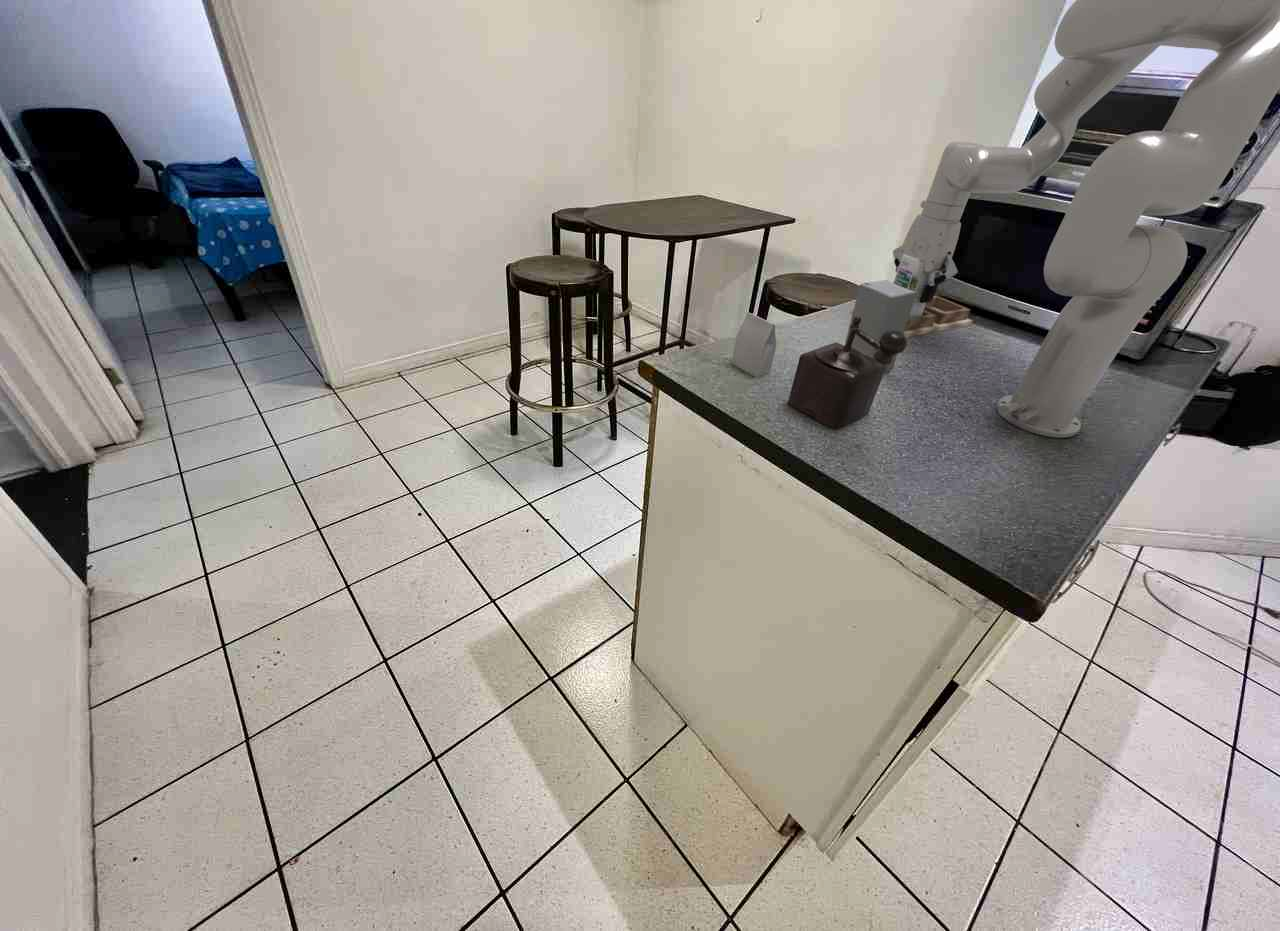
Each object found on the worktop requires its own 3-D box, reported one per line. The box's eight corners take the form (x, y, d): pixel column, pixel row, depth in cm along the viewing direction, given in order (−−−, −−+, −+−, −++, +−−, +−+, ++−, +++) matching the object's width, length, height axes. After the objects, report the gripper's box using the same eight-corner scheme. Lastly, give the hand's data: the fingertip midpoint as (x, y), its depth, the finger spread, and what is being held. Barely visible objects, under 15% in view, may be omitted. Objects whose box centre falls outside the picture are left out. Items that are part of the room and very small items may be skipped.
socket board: (902, 338, 117) (907, 323, 115) (850, 312, 129) (854, 298, 126) (971, 324, 127) (977, 310, 125) (917, 301, 138) (922, 288, 136)
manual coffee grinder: (782, 404, 91) (808, 303, 80) (820, 388, 97) (850, 291, 86) (860, 448, 81) (901, 340, 71) (897, 426, 87) (941, 323, 76)
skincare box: (892, 372, 103) (923, 292, 94) (863, 376, 101) (892, 296, 91) (863, 354, 110) (889, 277, 100) (835, 357, 107) (859, 280, 98)
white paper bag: (756, 377, 98) (767, 327, 92) (731, 363, 103) (740, 313, 96) (769, 373, 100) (781, 323, 94) (745, 359, 104) (754, 310, 98)
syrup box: (883, 317, 124) (901, 253, 116) (903, 313, 126) (922, 251, 117) (900, 326, 120) (919, 261, 111) (921, 322, 122) (942, 257, 113)
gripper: (896, 203, 114) (870, 285, 124) (967, 223, 101) (931, 311, 112) (920, 202, 116) (892, 282, 127) (991, 221, 104) (954, 307, 115)
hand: (910, 295), depth 120 cm, fingers open, 7 cm apart
